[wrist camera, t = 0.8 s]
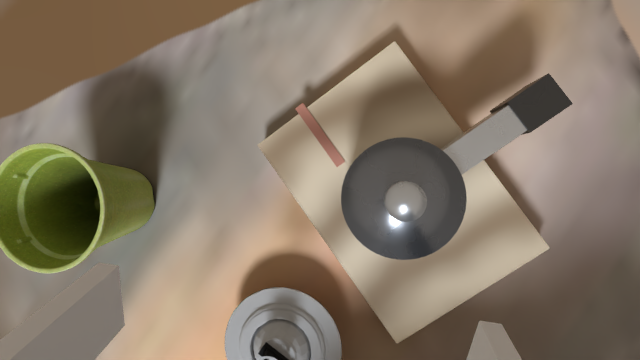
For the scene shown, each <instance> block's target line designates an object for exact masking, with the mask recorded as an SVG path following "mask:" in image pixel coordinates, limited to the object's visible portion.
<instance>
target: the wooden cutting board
mask: <svg viewBox="0 0 640 360" xmlns="http://www.w3.org/2000/svg"><path fill="white" fill-rule="evenodd" d="M295 109H296V111H297V112H298V113H299V114H298V115H296V116H295V117H294V118H292V119H291V120H290V121H288V122H287V123H286V124H285V125H283V126H282V127H281V128H279V129H278V130H277V131H275V132H274V133H273V134H271V135H270V136H269V137H267V138H266V139H265V140H263V141H262V142H261V143H259V144H258V147H259V148H260V149H261V151H262V152H263V154H264V155H265V157H266V158H267V159H268V161H269V162H270V164H271V165H272V167H273V168H274V169H275V171H276V172H277V174H278V175H279V177H280V178H281V179H282V181H283V182H284V184H285V185H286V187H287V188H288V189H289V191H290V192H291V194H292V195H293V197H294V198H295V199H296V201H297V202H298V204H299V205H300V207H301V208H302V209H303V211H304V212H305V214H306V215H307V217H308V218H309V219H310V221H311V222H312V224H313V225H314V227H315V228H316V229H317V231H318V232H319V234H320V235H321V237H322V238H323V239H324V241H325V242H326V244H327V245H328V247H329V248H330V249H331V251H332V252H333V254H334V255H335V257H336V258H337V259H338V261H339V262H340V264H341V265H342V267H343V268H344V269H345V271H346V272H347V274H348V275H349V277H350V278H351V279H352V281H353V282H354V284H355V285H356V287H357V288H358V289H359V291H360V292H361V294H362V295H363V297H364V298H365V299H366V301H367V302H368V304H369V305H370V306H371V308H372V309H373V311H374V312H375V314H376V315H377V316H378V318H379V319H380V321H381V322H382V324H383V325H384V326H385V328H386V329H387V331H388V332H389V334H390V335H391V336H392V338H393V339H394V341H395V342H396V344H398V343H399V342H401V341H402V340H404V339H406V338H407V337H409V336H410V335H412V334H414V333H415V332H417V331H418V330H420V329H422V328H423V327H425V326H426V325H428V324H430V323H431V322H433V321H434V320H436V319H438V318H439V317H441V316H442V315H444V314H446V313H447V312H449V311H450V310H452V309H454V308H455V307H457V306H458V305H460V304H462V303H463V302H465V301H466V300H468V299H470V298H471V297H473V296H474V295H476V294H478V293H479V292H481V291H482V290H484V289H486V288H487V287H489V286H490V285H492V284H494V283H495V282H497V281H498V280H500V279H502V278H503V277H505V276H506V275H508V274H510V273H511V272H513V271H515V270H516V269H518V268H519V267H521V266H523V265H524V264H526V263H527V262H529V261H531V260H532V259H534V258H535V257H537V256H539V255H540V254H542V253H543V252H545V251H547V250H548V249H550V248H549V246H548V245H547V244H546V242H545V241H544V240H543V238H542V237H541V236H540V234H539V233H538V232H537V230H536V229H535V228H534V226H533V225H532V224H531V222H530V221H529V220H528V218H527V217H526V216H525V214H524V213H523V212H522V210H521V209H520V208H519V206H518V205H517V203H516V202H515V201H514V199H513V198H512V197H511V195H510V194H509V193H508V191H507V190H506V189H505V187H504V186H503V185H502V183H501V182H500V181H499V179H498V178H497V177H496V175H495V174H494V173H493V171H492V170H491V169H490V167H489V166H488V165H487V163H486V162H485V161H484V160H483V161H481V162H480V163H478V164H477V165H476V166H474V167H473V168H471V169H470V170H468V171H467V172H465V173H464V174H462V177H463V180H464V183H465V188H466V197H467V203H466V211H465V214H464V218H463V221H462V223H461V225H460V227H459V229H458V231H457V232H456V234H455V235H454V236H453V238H452V239H451V240H450V241H449V242H448V243H447V244H446V245H444V246H443V247H442V248H441V249H439V250H437V251H436V252H434V253H432V254H430V255H427V256H425V257H421V258H417V259H411V260H397V259H391V258H387V257H383V256H381V255H378V254H376V253H374V252H372V251H371V250H369V249H368V248H366V247H365V246H364V245H362V244H361V243H360V242H359V241H358V240H357V239H356V237H355V236H354V235H353V234H352V232H351V231H350V229H349V227H348V225H347V223H346V221H345V219H344V215H343V212H342V206H341V191H342V185H343V181H344V178H345V176H346V173H347V171H348V169H349V168H350V166H351V165H352V163H353V162H354V160H355V159H356V158H357V157H358V156H359V155H360V154H361V153H362V152H364V151H365V150H366V149H367V148H369V147H371V146H372V145H374V144H376V143H378V142H381V141H384V140H387V139H392V138H401V137H407V138H415V139H420V140H423V141H426V142H429V143H431V144H433V145H435V146H437V147H438V148H439V149H441V148H442V147H444V146H445V145H447V144H448V143H450V142H451V141H453V140H454V139H455V138H457V137H458V136H460V135H461V134H463V131H462V130H461V129H460V127H459V126H458V125H457V123H456V122H455V121H454V119H453V118H452V117H451V115H450V114H449V113H448V111H447V110H446V109H445V107H444V106H443V105H442V103H441V102H440V101H439V99H438V98H437V97H436V95H435V94H434V93H433V91H432V90H431V89H430V87H429V86H428V85H427V83H426V82H425V81H424V79H423V78H422V77H421V75H420V74H419V73H418V71H417V70H416V69H415V67H414V66H413V65H412V63H411V62H410V61H409V59H408V58H407V57H406V55H405V54H404V53H403V51H402V50H401V49H400V47H399V46H398V45H397V43H396V42H395V41H394V42H393V43H391V44H390V45H389V46H387V47H386V48H385V49H383V50H382V51H381V52H379V53H378V54H377V55H376V56H374V57H373V58H372V59H370V60H369V61H368V62H366V63H365V64H364V65H362V66H361V67H360V68H358V69H357V70H356V71H354V72H353V73H352V74H350V75H349V76H348V77H346V78H345V79H344V80H343V81H341V82H340V83H339V84H337V85H336V86H335V87H333V88H332V89H331V90H329V91H328V92H327V93H325V94H324V95H323V96H321V97H320V98H319V99H317V100H316V101H315V102H314V103H312V104H311V105H310V106H308V107H307V108H306V107H305V105H304V104H303V103H302V104H301V105H299V106H298V107H297V108H295Z"/></svg>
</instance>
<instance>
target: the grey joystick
mask: <svg viewBox="0 0 640 360" xmlns="http://www.w3.org/2000/svg"><path fill="white" fill-rule="evenodd" d="M225 351H226V356H227V360H341V357H342V343H341V339H340V334H339V331H338V329H337V326H336V324H335V322H334V320H333V318H332V317H331V315H330V314H329V312H328V311H327V310H326V309H325V308H324V307H323V306H322V305H321V304H320V303H319V302H318V301H317V300H315V299H314V298H312V297H311V296H309V295H308V294H306V293H303V292H301V291H299V290H295V289H291V288H286V287H273V288H268V289H263V290H260V291H258V292H256V293H253V294H252V295H250V296H249V297H247V298H246V299H244V300H243V301H242V302H241V303H240V304H239V305H238V307H237V308H236V309H235V310H234V312H233V314H232V316H231V318H230V320H229V322H228V325H227V329H226V334H225Z"/></svg>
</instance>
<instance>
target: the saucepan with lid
mask: <svg viewBox="0 0 640 360" xmlns="http://www.w3.org/2000/svg"><path fill="white" fill-rule="evenodd" d="M570 105H572V102H571V101H570V100H569V98H568V97H567V96H566V95H565V93H564V92H563V91H562V89H561V88H560V87H559V86H558V84H557V83H556V82H555V80H554V79H553V78H552V77H551V75H550V74H549V73H548V74H547V75H545V76H543V77H541V78H539V79H538V80H536V81H534V82H532V83H530V84H528V85H527V86H525V87H524V88H522V89H521V90H519V91H518V92H516V93H515V94H514V95H512V96H511V97H509V98H508V99H506V100H505V101H503V102H502V103H501V104H499V105H498V106H496V107H495V108H493V109H492V110H491V111H490V112H491V114H490V115H488V116H487V117H486V118H484V119H483V120H481V121H480V122H478V123H477V124H475V125H474V126H473V127H471V128H470V129H468V130H467V131H465V132H464V133H463V134H461V135H460V136H458V137H457V138H455V139H454V140H453V141H451V142H450V143H448V144H447V145H445V146H444V147H442V148H441V149H439V148H438V147H437V146H435V145H433V144H431V143H429V142H426V141H423V140H420V139H415V138H407V137H401V138H392V139H387V140H384V141H381V142H378V143H376V144H374V145H372V146H371V147H369V148H367V149H366V150H365V151H364V152H362V153H361V154H360V155H359V156H358V157H357V158H356V159H355V160H354V162H353V163H352V165H351V166H350V168H349V169H348V171H347V173H346V176H345V178H344V181H343V185H342V191H341V206H342V212H343V215H344V219H345V221H346V223H347V225H348V227H349V229H350V231H351V232H352V234H353V235H354V236H355V237H356V239H357V240H358V241H359V242H360V243H361V244H362V245H364V246H365V247H366V248H368V249H369V250H371V251H372V252H374V253H376V254H378V255H381V256H383V257H387V258H391V259H397V260H411V259H417V258H421V257H425V256H427V255H430V254H432V253H434V252H436V251H437V250H439V249H441V248H442V247H443V246H444V245H446V244H447V243H448V242H449V241H450V240H451V239H452V238H453V236H454V235H455V234H456V232H457V231H458V229H459V227H460V225H461V223H462V221H463V218H464V214H465V211H466V203H467V197H466V188H465V183H464V180H463V177H462V174H464V173H465V172H467V171H468V170H470V169H471V168H473V167H474V166H476V165H477V164H478V163H480V162H481V161H483V160H484V159H486V158H487V157H489V156H490V155H492V154H493V153H495V152H496V151H498V150H499V149H501V148H502V147H503V146H505V145H506V144H508V143H509V142H511V141H512V140H514V139H515V138H517V137H518V136H520V135H522V134H526V133H530V132H532V131H533V130H535V129H536V128H538V127H539V126H541V125H542V124H543V123H545V122H546V121H548V120H549V119H551V118H552V117H554V116H555V115H557V114H558V113H560V112H561V111H563V110H564V109H566V108H567V107H569V106H570Z"/></svg>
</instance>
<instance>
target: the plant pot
mask: <svg viewBox="0 0 640 360" xmlns="http://www.w3.org/2000/svg"><path fill="white" fill-rule="evenodd" d="M154 205H155V203H154V199H153V191H152V186H151V184H150V182H149V181H148V180H147V178H146V177H145V176H144V175H142V174H141V173H139V172H138V171H135V170H133V169H129V168H125V167H120V166H115V165H110V164H106V163H101V162H97V161H92V160H88V159H86V158H84V157H82V156H81V155H80V154H78V153H76V152H75V151H73V150H71V149H69V148H66V147H63V146H60V145H56V144H50V143H39V144H32V145H28V146H25V147H23V148H21V149H19V150H17V151H16V152H14V153H13V154H11V155H10V156H9V157H8V158H7V159H6V160H5V161H4V162H3V163H2V164H1V165H0V248H1V249H2V250H3V251H4V253H5V254H6V255H7V256H8V257H9V258H10V259H11V260H13V261H14V262H15V263H17V264H18V265H20V266H22V267H23V268H25V269H28V270H31V271H34V272H39V273H57V272H62V271H65V270H67V269H70V268H72V267H74V266H76V265H78V264H79V263H81V262H82V261H83V260H85V259H86V258H87V257H88V256H89V255H90V254H91V253H92V252H93V251H94V250H95V249H96V248H98V247H100V246H102V245H104V244H106V243H108V242H111V241H113V240H115V239H117V238H119V237H121V236H124V235H126V234H128V233H130V232H133V231H135V230H137V229H139V228H141V227H142V226H143V225H144V224H146V223H147V221H148V220H149V219H150V217H151V215H152V213H153V210H154Z"/></svg>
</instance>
